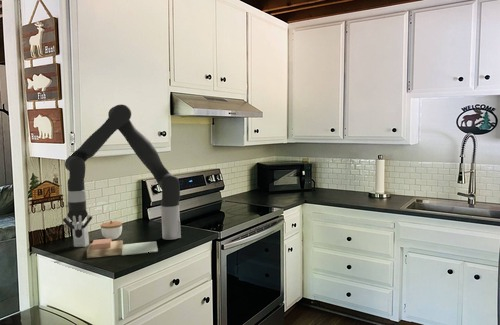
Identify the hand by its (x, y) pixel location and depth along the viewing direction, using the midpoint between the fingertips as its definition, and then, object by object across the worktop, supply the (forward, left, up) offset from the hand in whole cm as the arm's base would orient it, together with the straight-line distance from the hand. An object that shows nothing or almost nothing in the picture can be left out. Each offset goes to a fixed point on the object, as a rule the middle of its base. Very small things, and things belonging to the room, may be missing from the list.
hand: (78, 237), depth 181 cm
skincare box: (+1, -14, -8) cm, 17 cm away
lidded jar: (-13, -23, -8) cm, 28 cm away
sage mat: (-27, 0, -8) cm, 28 cm away
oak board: (-11, 0, -8) cm, 14 cm away
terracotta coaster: (-10, 0, -4) cm, 11 cm away
